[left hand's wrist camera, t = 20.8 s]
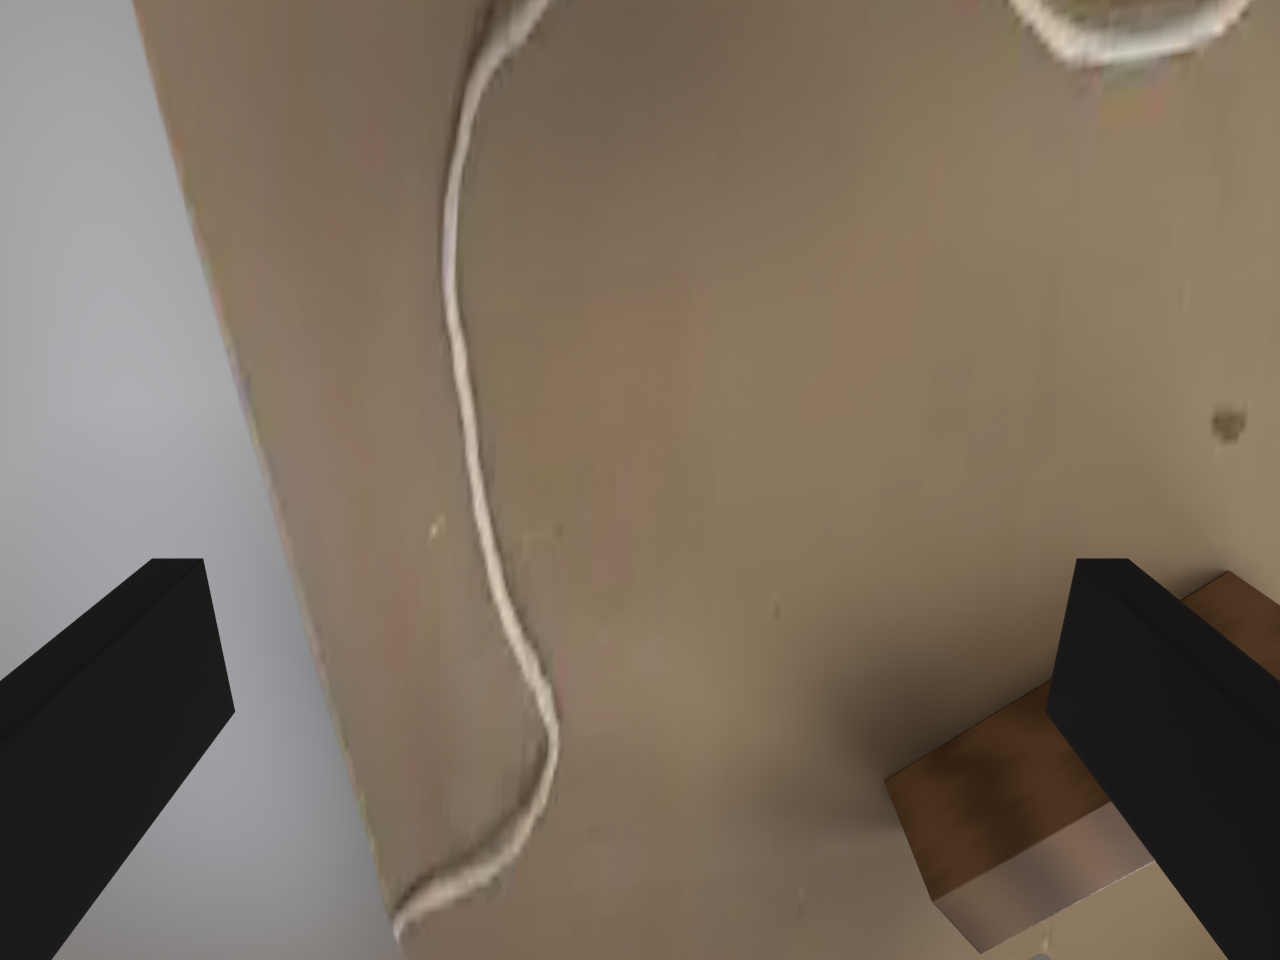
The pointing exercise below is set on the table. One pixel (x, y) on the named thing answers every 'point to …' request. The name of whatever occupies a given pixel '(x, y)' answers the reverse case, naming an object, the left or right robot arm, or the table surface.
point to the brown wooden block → (1038, 800)
